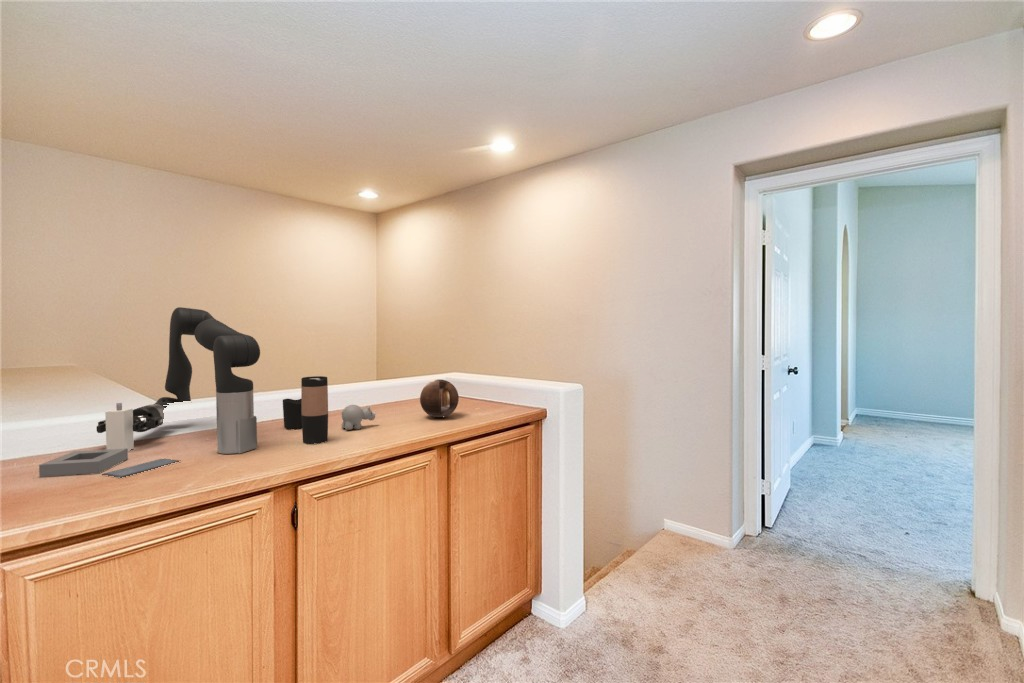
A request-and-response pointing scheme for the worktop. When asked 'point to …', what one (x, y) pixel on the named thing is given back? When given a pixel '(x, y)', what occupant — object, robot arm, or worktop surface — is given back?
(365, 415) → the toy rhinoceros
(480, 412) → the worktop surface
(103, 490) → the worktop surface
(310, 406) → the travel mug
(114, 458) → the block
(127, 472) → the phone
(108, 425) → the white block with peg
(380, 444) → the worktop surface
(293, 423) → the pen holder
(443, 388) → the wooden sphere
